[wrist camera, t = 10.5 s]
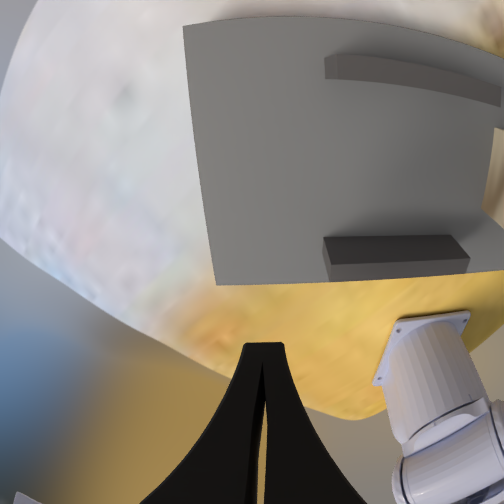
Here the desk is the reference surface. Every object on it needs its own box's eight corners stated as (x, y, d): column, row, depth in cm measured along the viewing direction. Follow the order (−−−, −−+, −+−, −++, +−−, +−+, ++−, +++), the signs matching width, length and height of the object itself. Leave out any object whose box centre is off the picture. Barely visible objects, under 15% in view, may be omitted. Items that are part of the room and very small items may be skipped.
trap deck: (548, 248, 18) (577, 279, 13) (221, 261, 20) (209, 315, 16) (578, 105, 10) (617, 123, 6) (195, 33, 12) (164, 16, 8)
